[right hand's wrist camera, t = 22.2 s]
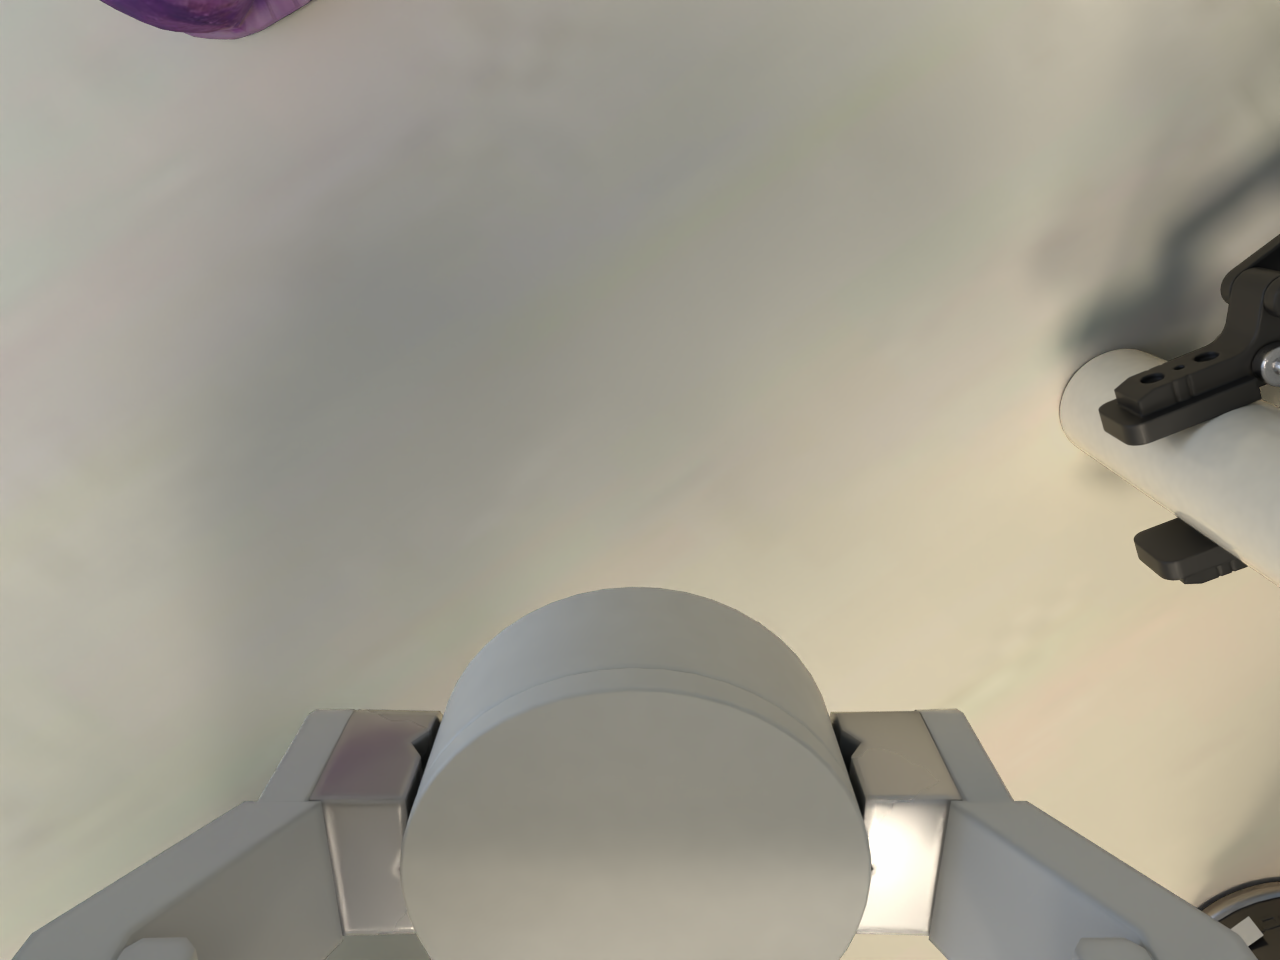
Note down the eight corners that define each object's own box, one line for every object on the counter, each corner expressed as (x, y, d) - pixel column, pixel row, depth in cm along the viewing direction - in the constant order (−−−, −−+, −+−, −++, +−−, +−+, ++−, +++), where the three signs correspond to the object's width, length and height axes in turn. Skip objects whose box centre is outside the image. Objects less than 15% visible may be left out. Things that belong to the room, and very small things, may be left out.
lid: (865, 861, 11) (909, 1003, 9) (515, 939, 12) (492, 1087, 10) (783, 538, 9) (817, 633, 8) (380, 643, 10) (323, 756, 8)
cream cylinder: (1069, 347, 33) (1517, 560, 16) (1183, 348, 33) (1749, 560, 16) (1050, 455, 34) (1441, 752, 17) (1159, 455, 34) (1654, 752, 17)
